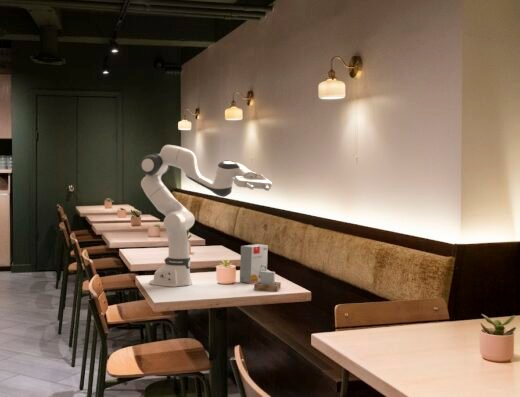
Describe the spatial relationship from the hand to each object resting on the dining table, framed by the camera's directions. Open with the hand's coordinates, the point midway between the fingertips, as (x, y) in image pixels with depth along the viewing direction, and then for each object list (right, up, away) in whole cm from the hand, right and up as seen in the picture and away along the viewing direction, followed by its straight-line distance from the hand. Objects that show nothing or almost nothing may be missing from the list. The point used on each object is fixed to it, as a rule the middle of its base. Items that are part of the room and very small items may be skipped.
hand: (260, 188), depth 321 cm
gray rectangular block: (+4, -52, +12) cm, 54 cm away
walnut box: (+4, -52, +12) cm, 54 cm away
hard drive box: (-4, -51, +34) cm, 62 cm away
